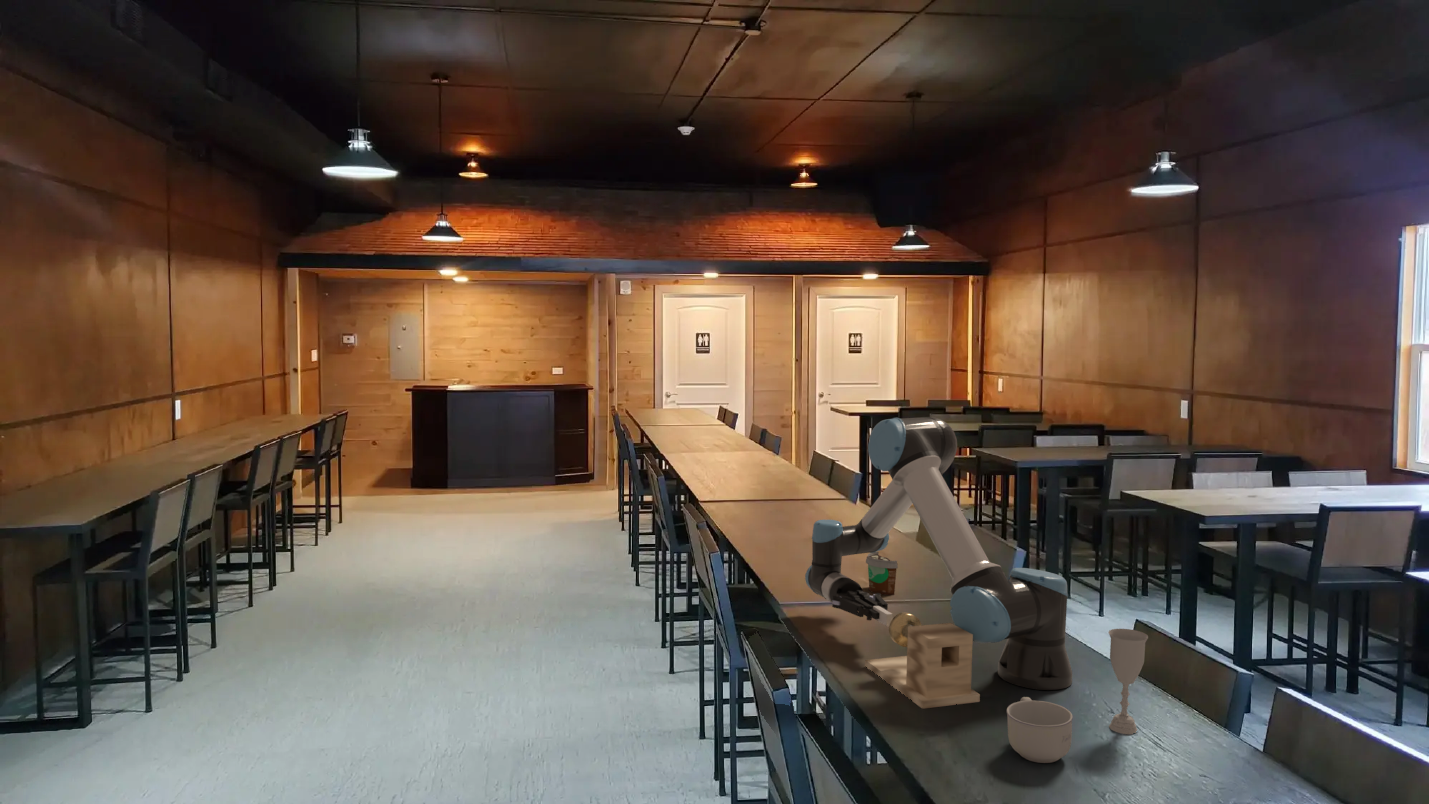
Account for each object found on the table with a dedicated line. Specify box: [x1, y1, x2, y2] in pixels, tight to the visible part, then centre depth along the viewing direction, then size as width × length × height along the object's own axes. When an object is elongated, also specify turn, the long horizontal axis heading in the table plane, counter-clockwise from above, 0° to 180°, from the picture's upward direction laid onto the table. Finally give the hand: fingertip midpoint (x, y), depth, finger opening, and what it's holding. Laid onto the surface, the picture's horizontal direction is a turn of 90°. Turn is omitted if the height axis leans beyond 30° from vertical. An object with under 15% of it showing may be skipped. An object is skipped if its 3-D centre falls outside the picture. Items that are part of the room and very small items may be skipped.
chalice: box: [1107, 628, 1149, 735], centre depth 174 cm, size 7×7×18 cm
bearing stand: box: [864, 622, 981, 709], centre depth 195 cm, size 24×13×14 cm, turn 18°
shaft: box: [888, 611, 922, 648], centre depth 196 cm, size 12×7×7 cm, turn 18°
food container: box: [865, 551, 899, 596], centre depth 266 cm, size 12×6×10 cm, turn 17°
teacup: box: [1006, 696, 1073, 764], centre depth 164 cm, size 14×11×8 cm
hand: (889, 620), depth 208 cm, fingers closed
